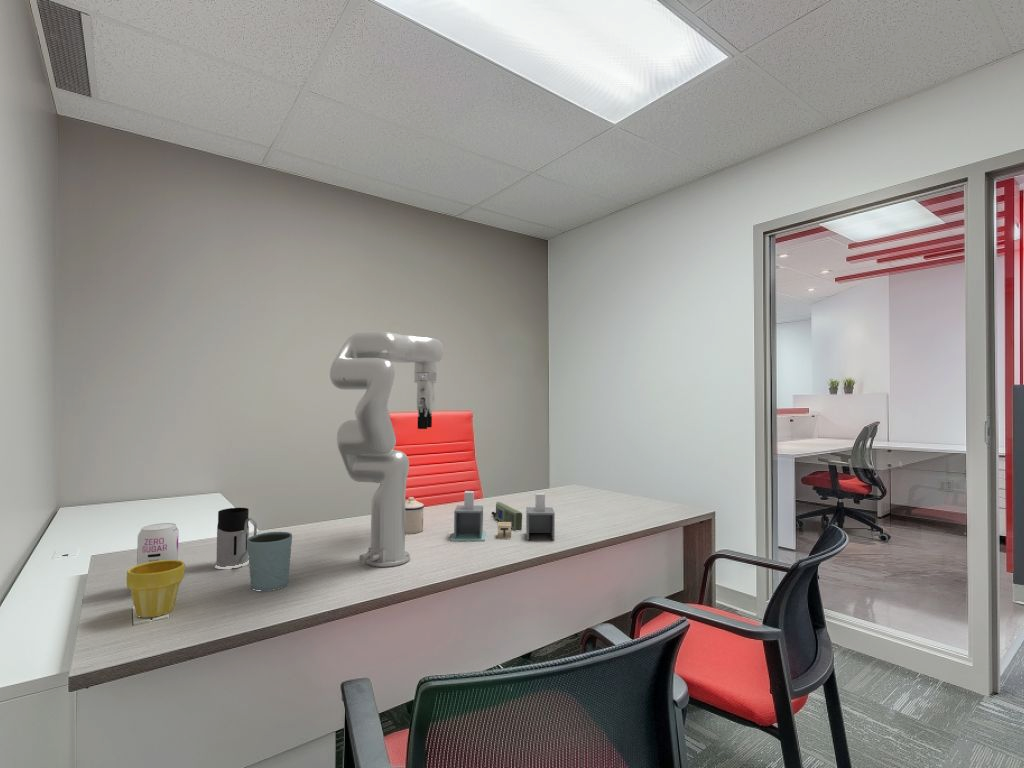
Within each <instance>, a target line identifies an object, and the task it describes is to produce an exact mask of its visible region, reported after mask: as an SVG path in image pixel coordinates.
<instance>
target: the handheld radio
mask: <svg viewBox="0 0 1024 768" xmlns="http://www.w3.org/2000/svg"><path fill="white" fill-rule="evenodd" d="M491 515H492V516H493V517H495V520H496V519H498V520H499V521H498V520H497V521H498V522H500V521H501V522H511V528H513V529H514V530H513V529H512V530H513V531H515V530H521V531H522V529H523V512H522V511H519V510H518V509H515V508H513V507H511V506H509V505H508V504H505V503H503V502H501V501H496V503H495V511H491Z"/></svg>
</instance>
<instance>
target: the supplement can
mask: <svg viewBox="0 0 1024 768" xmlns="http://www.w3.org/2000/svg"><path fill="white" fill-rule="evenodd" d="M179 534H180V533H179V528H178V527H177V524H176V523H173V522H163V523H162V522H161V523H153V524H148V525H144V526H143V527H141V528H140V531H139V533H138V534H137V550H136V551H137V556H136V557H137V560H136V566H137V565H140V564H143V563H148V562H153V561H160V560H179Z"/></svg>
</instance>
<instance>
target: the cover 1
mask: <svg viewBox="0 0 1024 768" xmlns="http://www.w3.org/2000/svg"><path fill="white" fill-rule="evenodd" d="M463 497H464V498H463V500H464V501H463V503H464V504H463V505H462V504H461V505H457V506H456V507H455V508H454V512H453V514H454V515H453V517H454V519H453V524H454V525H453V528H454V529H453V533H454V539H456V537H457V535H458V532H480V539H482V534H483V531H484V505H475V491H474V490H465V491H464V495H463Z"/></svg>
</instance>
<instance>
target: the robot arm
mask: <svg viewBox="0 0 1024 768" xmlns="http://www.w3.org/2000/svg"><path fill="white" fill-rule="evenodd" d="M340 348H341V349H340V350H339V352H338V353H337V354H336V357H335V358H334V360H333V362H332V363H331V366H330V369H329V379H330V382H331V384H332V385H333V386H334V387H335V388H337V389H339V390H351V391H352V390H356V391H357V390H361V391H363V390H366V391H365V392H364V394H363V396H362V397H361V398H360V400H359V401H358V402H357V404H356V407H355V409H354V415H355V419H349V420H346V421H344V422H342V423H341V424H340V426H339V427H338V429H337V432H336V443H337V450H338V452H339V454H340V457H341V459H342V461H343V464H344V467H345V470H346V472H347V474H348V476H349V477H350V478H351V479H352V481H354V482H361V483H372V484H373V483H376V484H379V486H378V488H377V489H376V490H375V491H374V493H373V495H372V497H371V503H370V504H371V506H370V507H371V508H370V511H371V512H370V513H371V515H370V516H371V518H370V546H369V547H368V551H367V552H365V553H363V554H360V555H359V556H358V559H359V561H360V563H364V562H365V563H366V564H367V565H369V566H372V567H377V568H378V567H382V568H383V567H385V568H386V567H388V568H389V567H394V566H395V567H396V566H400V565H403V564H406V563H407V562H409V561H410V559H411V553H410V552H407V551H406V534H405V501H406V491H407V490H406V489H407V480H408V474H409V469H410V460H409V457H408V456H407V454H406V453H405V452H403V451H402V450H401V451H400V450H396V449H395V447H396V445H397V444H396V443H397V440H396V433H395V430H394V427H393V424H392V420H391V417H390V413H389V412H390V411H389V409H388V402H389V398H390V395H391V392H392V387H393V384H394V380H395V366H394V365H393V363H403V364H404V363H407V364H408V363H414V367H413V368H414V373H413V375H414V378H413V379H414V380H413V381H414V383H417V385H416V410H417V411H418V412H417V430H427V429H428V428H432V427H433V416H432V415H433V414H432V413H433V412H434V411H435V409H436V407H435V406H436V404H435V403H436V402H435V383H437V363H438V362H441V360H442V358H443V356H444V346H443V343H442V342H441V341H440V340H439V339H437V338H433V337H422V336H414V335H408V334H407V335H406V334H400V333H396V332H395V333H394V332H389V331H384V330H383V331H357V332H354V333H353V334H351V335H349V337H348V338H347V339H346V341H345V342H344V343H343V345H342V347H340Z"/></svg>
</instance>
